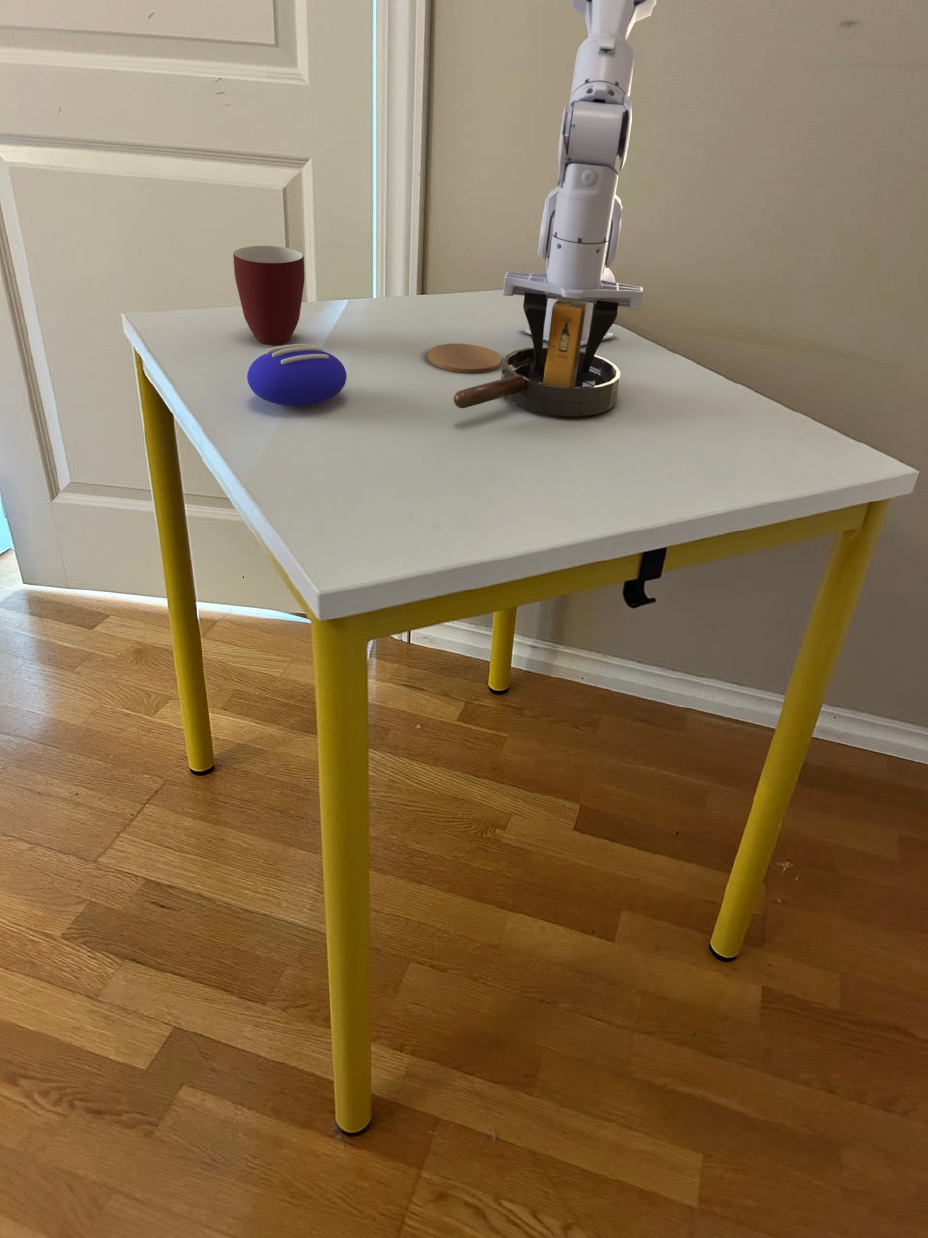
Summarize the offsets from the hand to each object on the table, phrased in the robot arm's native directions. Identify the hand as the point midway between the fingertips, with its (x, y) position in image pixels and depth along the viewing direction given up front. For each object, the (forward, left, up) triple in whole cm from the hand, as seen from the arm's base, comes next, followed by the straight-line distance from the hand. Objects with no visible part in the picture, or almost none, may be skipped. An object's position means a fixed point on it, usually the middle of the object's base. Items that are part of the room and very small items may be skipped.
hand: (561, 367), depth 98 cm
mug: (+16, -33, -4) cm, 37 cm away
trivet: (+1, -14, -3) cm, 15 cm away
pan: (0, 0, -3) cm, 3 cm away
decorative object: (+25, -15, -4) cm, 29 cm away
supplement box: (0, 0, -3) cm, 3 cm away
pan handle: (+11, 0, -1) cm, 11 cm away
